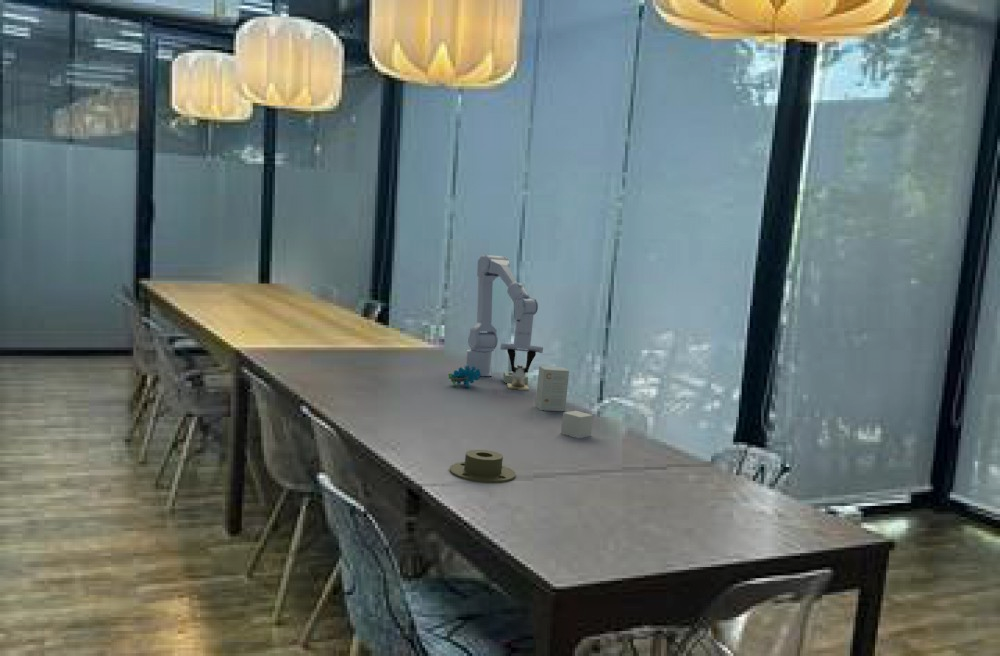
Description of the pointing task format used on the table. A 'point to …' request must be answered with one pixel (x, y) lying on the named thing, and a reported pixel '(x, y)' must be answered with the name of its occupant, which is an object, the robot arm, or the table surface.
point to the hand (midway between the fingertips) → (519, 371)
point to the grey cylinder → (519, 376)
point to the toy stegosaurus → (465, 376)
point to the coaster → (517, 387)
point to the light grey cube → (577, 424)
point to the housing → (508, 377)
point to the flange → (483, 467)
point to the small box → (552, 388)
